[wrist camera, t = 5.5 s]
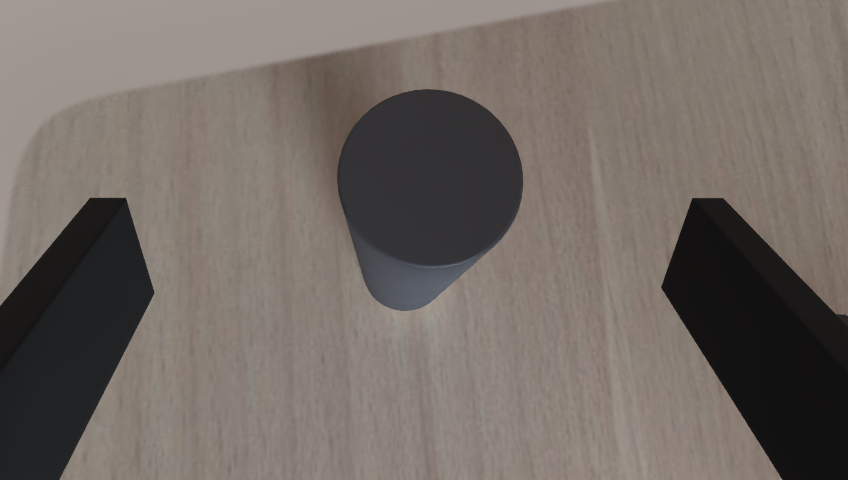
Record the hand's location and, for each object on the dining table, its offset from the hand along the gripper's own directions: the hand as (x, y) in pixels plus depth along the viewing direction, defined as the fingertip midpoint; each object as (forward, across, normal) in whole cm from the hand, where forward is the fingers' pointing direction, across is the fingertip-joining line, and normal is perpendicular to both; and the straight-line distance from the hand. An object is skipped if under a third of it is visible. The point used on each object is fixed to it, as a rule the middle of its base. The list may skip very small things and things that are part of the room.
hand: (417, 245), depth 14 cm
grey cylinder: (+5, 0, -5) cm, 7 cm away
